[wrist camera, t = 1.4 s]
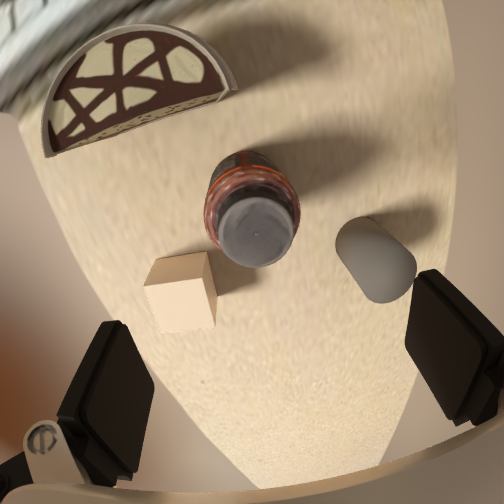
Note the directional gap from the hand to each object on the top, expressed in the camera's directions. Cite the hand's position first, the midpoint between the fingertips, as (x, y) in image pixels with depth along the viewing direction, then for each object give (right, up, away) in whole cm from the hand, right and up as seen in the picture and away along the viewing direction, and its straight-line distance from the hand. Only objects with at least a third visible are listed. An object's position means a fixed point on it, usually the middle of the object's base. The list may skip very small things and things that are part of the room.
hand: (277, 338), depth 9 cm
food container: (-9, +16, +13) cm, 23 cm away
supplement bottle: (-1, +8, +17) cm, 19 cm away
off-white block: (-7, 0, +20) cm, 22 cm away
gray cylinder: (+10, +4, +20) cm, 22 cm away
